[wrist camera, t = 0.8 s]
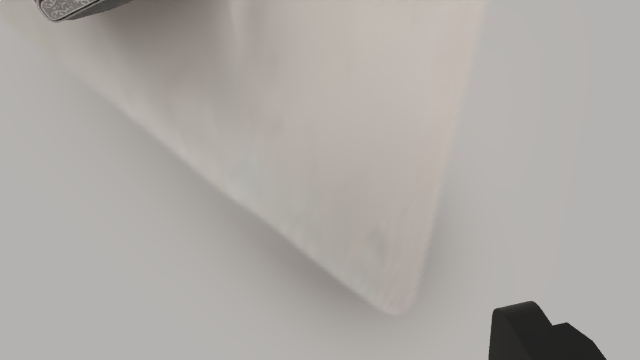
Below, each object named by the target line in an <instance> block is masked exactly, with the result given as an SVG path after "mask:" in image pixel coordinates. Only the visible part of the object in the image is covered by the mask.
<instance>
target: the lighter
mask: <svg viewBox="0 0 640 360" xmlns="http://www.w3.org/2000/svg"><path fill="white" fill-rule="evenodd" d="M34 1H35V3H36V4H37V7H38V8H39V10H40V12H41V13H42V14H43V16H44V17H45V18H46V19H47V20H49V21H51V22H54V23H58V22H61V21H64V20H74V19H78V18H82V17H85V16H89V15H93V14H96V13H100V12H104V11H107V10H110V9H113V8H115V7H118V6H120V5H123V4H125V3H127V2H130V1H132V0H34Z"/></svg>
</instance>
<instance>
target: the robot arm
mask: <svg viewBox="0 0 640 360" xmlns="http://www.w3.org/2000/svg"><path fill="white" fill-rule="evenodd" d="M489 360H606V358H605V357H604V356H603V354H602V353H601V352H600V350H599V349H598V347H597V346H596V345H595V343H594V342H593V341H592V340H590V339H589V338H588V337H586V336H585V335H584V334H582V333H581V332H580V331H578V330H577V329H575V328H574V327H573V326H571V325H570V324H569V323H562V324H558V325H553V326H552V324H551V323H550V321H549V320H548V318H547V317H546V316H545V314H544V313H543V311H542V310H541V309H540V307H539V306H538V305H537V304H536V303H535V302H533V301H528V302H524V303H519V304H515V305H510V306H506V307H501V308H497V309H495V310H494V311H493V315H492V325H491V336H490V346H489Z"/></svg>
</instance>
